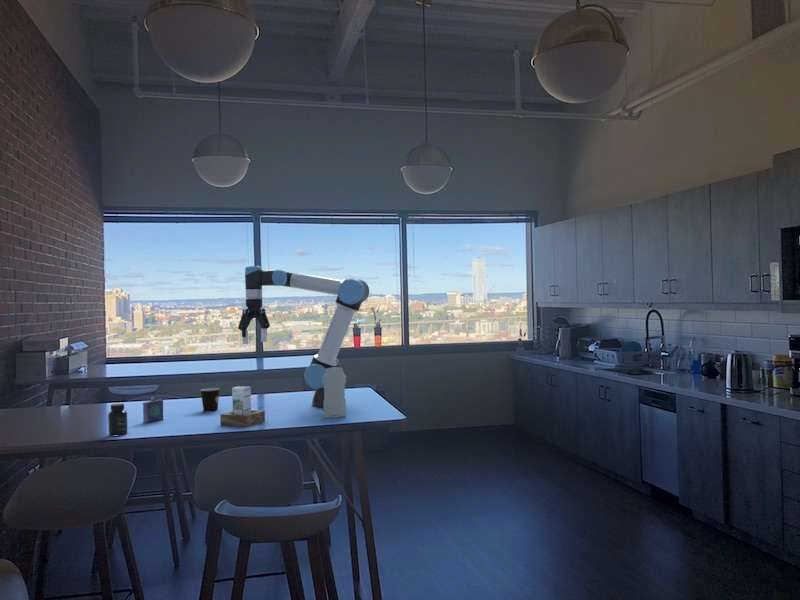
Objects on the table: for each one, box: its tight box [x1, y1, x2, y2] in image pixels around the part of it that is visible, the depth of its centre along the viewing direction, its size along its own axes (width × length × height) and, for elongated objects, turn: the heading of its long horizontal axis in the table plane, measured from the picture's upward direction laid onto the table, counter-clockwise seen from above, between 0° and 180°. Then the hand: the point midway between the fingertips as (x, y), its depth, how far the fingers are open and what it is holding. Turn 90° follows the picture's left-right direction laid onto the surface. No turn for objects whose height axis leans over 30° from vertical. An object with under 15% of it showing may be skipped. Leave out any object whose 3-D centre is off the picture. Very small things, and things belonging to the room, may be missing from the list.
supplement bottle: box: [107, 403, 128, 436], centre depth 250 cm, size 7×7×12 cm
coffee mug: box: [200, 387, 220, 412], centre depth 300 cm, size 12×9×10 cm
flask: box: [142, 396, 164, 424], centre depth 275 cm, size 9×3×11 cm, turn 142°
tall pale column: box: [322, 367, 347, 419], centre depth 277 cm, size 11×4×22 cm, turn 102°
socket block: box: [219, 409, 266, 428], centre depth 267 cm, size 13×13×4 cm
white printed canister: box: [231, 385, 252, 415], centre depth 267 cm, size 6×6×14 cm
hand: (254, 343), depth 299 cm, fingers open, 13 cm apart
